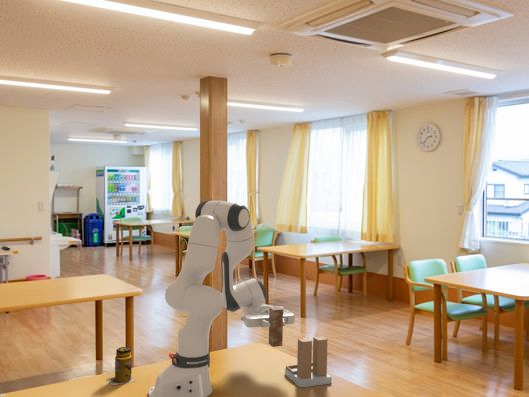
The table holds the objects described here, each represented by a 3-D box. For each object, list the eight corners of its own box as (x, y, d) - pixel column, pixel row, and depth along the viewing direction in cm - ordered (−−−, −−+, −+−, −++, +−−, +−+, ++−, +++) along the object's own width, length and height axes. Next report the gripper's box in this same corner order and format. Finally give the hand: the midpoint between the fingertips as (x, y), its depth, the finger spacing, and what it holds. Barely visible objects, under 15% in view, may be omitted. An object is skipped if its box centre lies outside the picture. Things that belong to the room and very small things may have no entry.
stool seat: (300, 387, 186) (301, 343, 186) (285, 374, 199) (286, 333, 199) (331, 383, 191) (332, 340, 191) (314, 370, 204) (315, 330, 204)
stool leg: (272, 346, 190) (273, 310, 190) (268, 343, 194) (269, 307, 193) (282, 345, 191) (283, 309, 191) (278, 342, 195) (278, 306, 195)
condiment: (134, 381, 189) (135, 349, 189) (112, 386, 185) (112, 353, 184) (128, 375, 195) (128, 344, 195) (106, 379, 191) (106, 348, 190)
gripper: (239, 309, 200) (251, 318, 188) (286, 306, 208) (300, 314, 195) (239, 325, 201) (251, 335, 188) (285, 321, 208) (300, 330, 195)
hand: (276, 324), depth 191 cm, fingers closed on stool leg, 4 cm apart
